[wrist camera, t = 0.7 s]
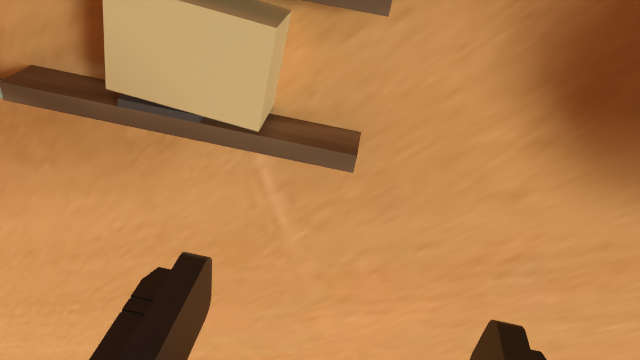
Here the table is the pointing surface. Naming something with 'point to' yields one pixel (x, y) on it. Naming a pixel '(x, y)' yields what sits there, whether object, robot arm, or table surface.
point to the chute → (119, 108)
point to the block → (197, 55)
